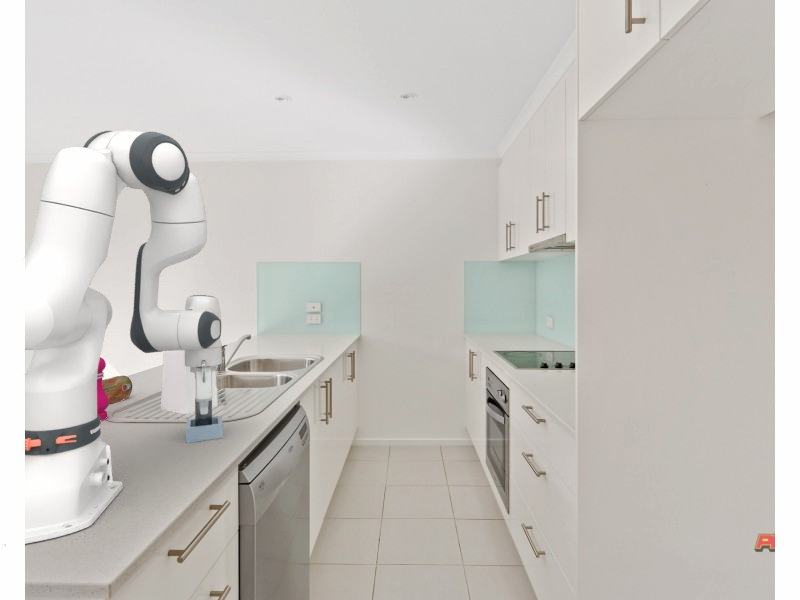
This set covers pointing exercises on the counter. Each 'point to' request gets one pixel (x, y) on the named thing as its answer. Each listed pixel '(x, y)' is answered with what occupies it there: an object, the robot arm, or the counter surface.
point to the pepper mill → (101, 392)
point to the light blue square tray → (204, 430)
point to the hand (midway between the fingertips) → (204, 410)
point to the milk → (180, 384)
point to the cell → (203, 415)
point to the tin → (117, 388)
